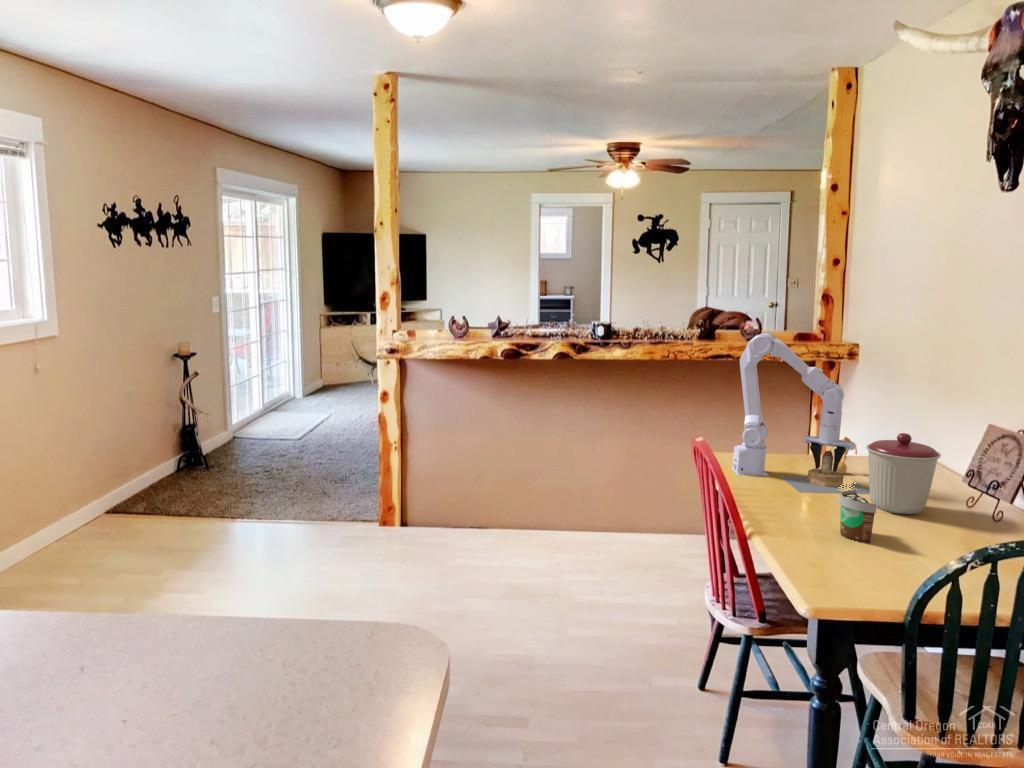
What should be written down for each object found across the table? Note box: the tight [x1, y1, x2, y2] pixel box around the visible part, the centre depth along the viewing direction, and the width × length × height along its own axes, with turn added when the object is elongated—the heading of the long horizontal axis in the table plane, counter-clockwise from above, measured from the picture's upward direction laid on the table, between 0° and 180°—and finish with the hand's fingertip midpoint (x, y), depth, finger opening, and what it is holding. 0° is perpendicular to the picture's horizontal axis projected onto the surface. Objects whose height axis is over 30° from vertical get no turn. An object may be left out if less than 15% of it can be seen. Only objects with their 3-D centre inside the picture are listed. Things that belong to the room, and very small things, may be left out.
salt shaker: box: [820, 450, 834, 475], centre depth 238 cm, size 3×3×10 cm
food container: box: [837, 490, 877, 544], centre depth 191 cm, size 12×6×10 cm, turn 178°
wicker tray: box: [807, 468, 845, 487], centre depth 238 cm, size 9×9×3 cm
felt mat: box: [779, 476, 870, 495], centre depth 236 cm, size 22×17×1 cm
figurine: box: [830, 436, 858, 475], centre depth 250 cm, size 8×6×12 cm
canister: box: [865, 432, 942, 515], centre depth 214 cm, size 18×18×21 cm
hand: (826, 469), depth 238 cm, fingers open, 4 cm apart
